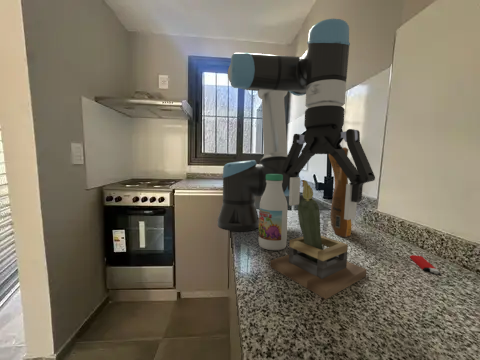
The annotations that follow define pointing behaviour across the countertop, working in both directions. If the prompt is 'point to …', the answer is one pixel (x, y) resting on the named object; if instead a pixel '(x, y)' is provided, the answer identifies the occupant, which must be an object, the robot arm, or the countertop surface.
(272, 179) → the milk bottle
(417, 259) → the lighter
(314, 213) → the vegetable
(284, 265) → the collar stand
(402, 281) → the countertop surface
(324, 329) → the countertop surface
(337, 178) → the pancake mix bag
